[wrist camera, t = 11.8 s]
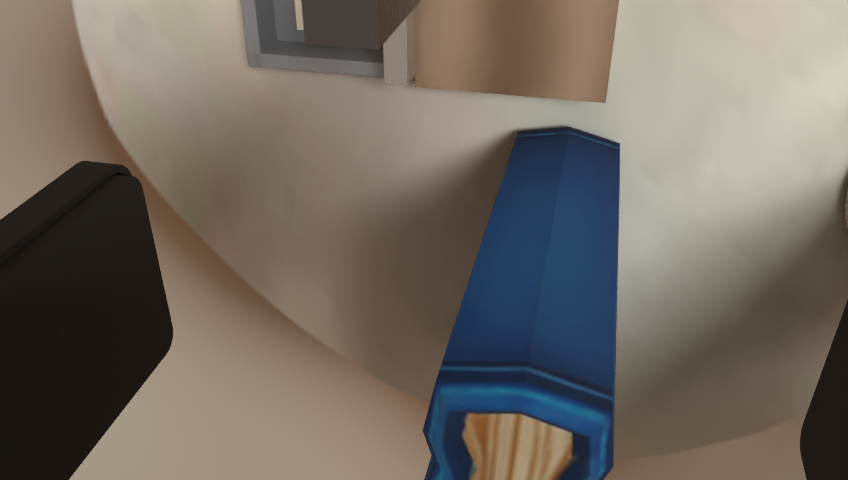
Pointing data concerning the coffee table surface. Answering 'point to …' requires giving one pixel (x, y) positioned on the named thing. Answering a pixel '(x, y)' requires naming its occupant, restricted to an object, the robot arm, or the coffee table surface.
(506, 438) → the book
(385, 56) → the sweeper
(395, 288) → the coffee table surface
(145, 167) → the coffee table surface
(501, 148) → the coffee table surface
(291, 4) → the box
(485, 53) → the brown tray
